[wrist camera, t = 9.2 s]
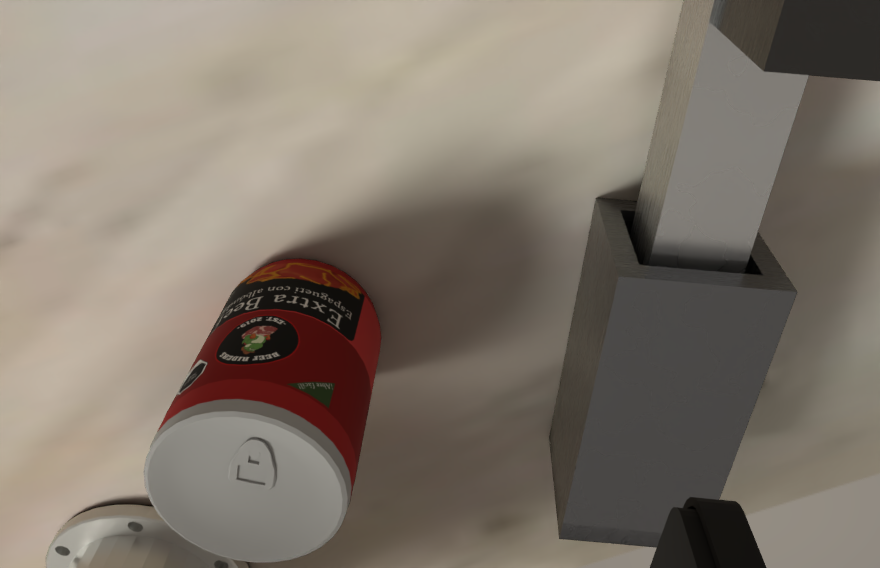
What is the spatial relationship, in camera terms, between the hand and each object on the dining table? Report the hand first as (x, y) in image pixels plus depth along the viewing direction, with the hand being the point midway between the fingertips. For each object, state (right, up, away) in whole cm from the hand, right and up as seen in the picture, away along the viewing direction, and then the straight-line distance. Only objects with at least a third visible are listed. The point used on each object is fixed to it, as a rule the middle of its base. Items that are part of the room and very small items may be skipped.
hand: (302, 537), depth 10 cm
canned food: (-5, +1, +28) cm, 28 cm away
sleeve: (+11, +1, +27) cm, 29 cm away
